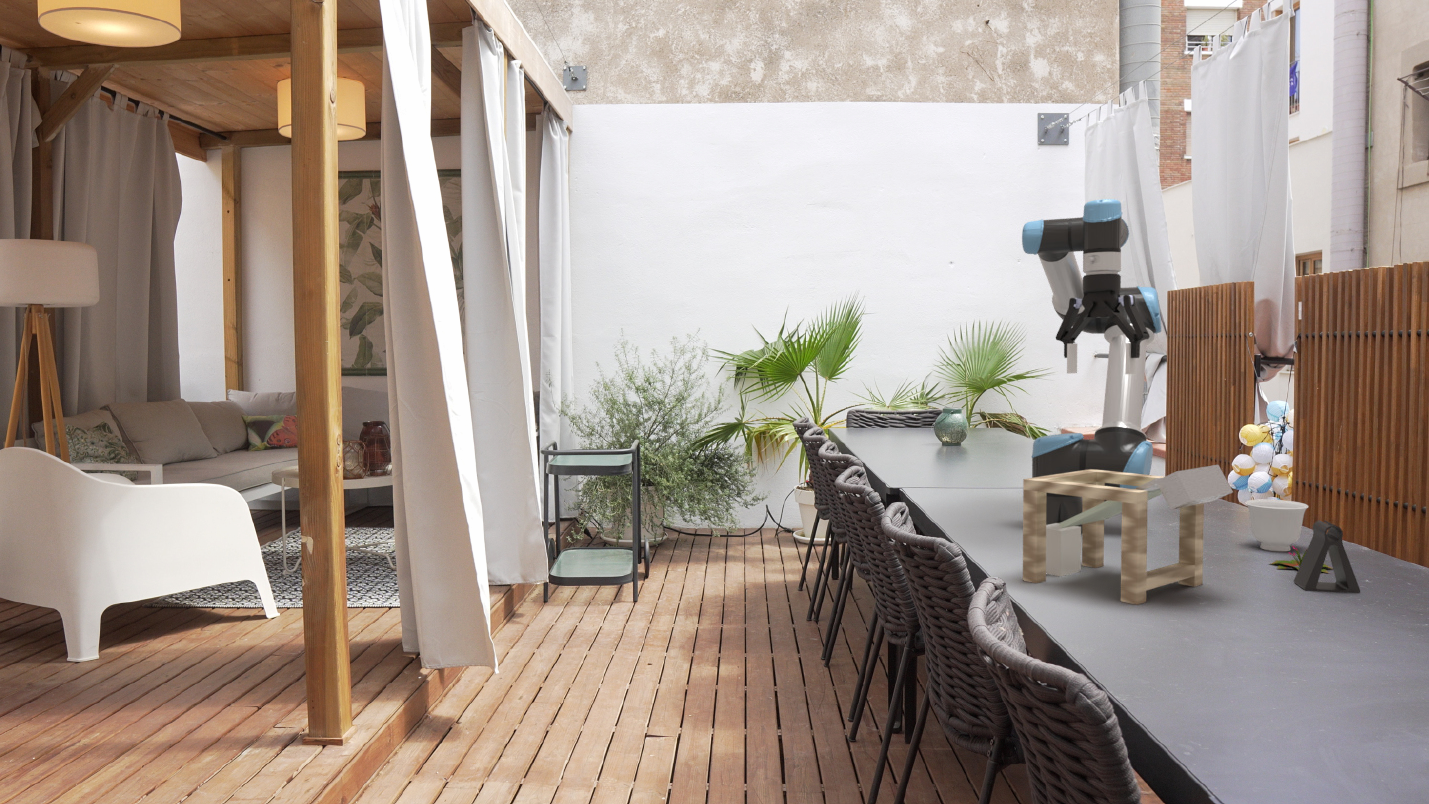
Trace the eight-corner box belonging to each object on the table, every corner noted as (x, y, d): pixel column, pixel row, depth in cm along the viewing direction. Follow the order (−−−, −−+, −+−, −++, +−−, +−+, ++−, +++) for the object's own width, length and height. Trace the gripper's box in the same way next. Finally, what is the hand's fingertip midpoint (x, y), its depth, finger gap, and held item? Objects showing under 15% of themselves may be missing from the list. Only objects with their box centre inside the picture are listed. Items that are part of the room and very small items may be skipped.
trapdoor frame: (1022, 580, 186) (1023, 479, 185) (1090, 563, 200) (1091, 469, 199) (1137, 604, 168) (1138, 492, 167) (1202, 584, 182) (1204, 480, 181)
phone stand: (1347, 585, 180) (1349, 521, 180) (1360, 593, 174) (1362, 526, 174) (1293, 582, 182) (1294, 519, 182) (1304, 590, 177) (1305, 525, 176)
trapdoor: (1234, 491, 173) (1218, 461, 175) (1189, 501, 164) (1173, 469, 166) (1119, 542, 191) (1105, 514, 193) (1072, 552, 182) (1058, 523, 184)
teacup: (1284, 541, 221) (1285, 497, 220) (1318, 555, 206) (1319, 508, 206) (1229, 540, 222) (1229, 497, 222) (1258, 554, 207) (1259, 507, 207)
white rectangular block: (1060, 531, 189) (1060, 577, 189) (1081, 526, 193) (1080, 571, 193) (1036, 527, 193) (1035, 572, 193) (1056, 523, 197) (1056, 566, 198)
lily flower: (1267, 572, 193) (1268, 550, 193) (1266, 560, 203) (1266, 539, 203) (1339, 579, 187) (1340, 555, 187) (1333, 566, 198) (1334, 544, 197)
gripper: (1040, 277, 215) (1039, 373, 216) (1148, 269, 195) (1147, 375, 196) (1059, 278, 219) (1058, 372, 220) (1168, 270, 199) (1166, 374, 200)
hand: (1100, 373), depth 208 cm, fingers open, 13 cm apart
